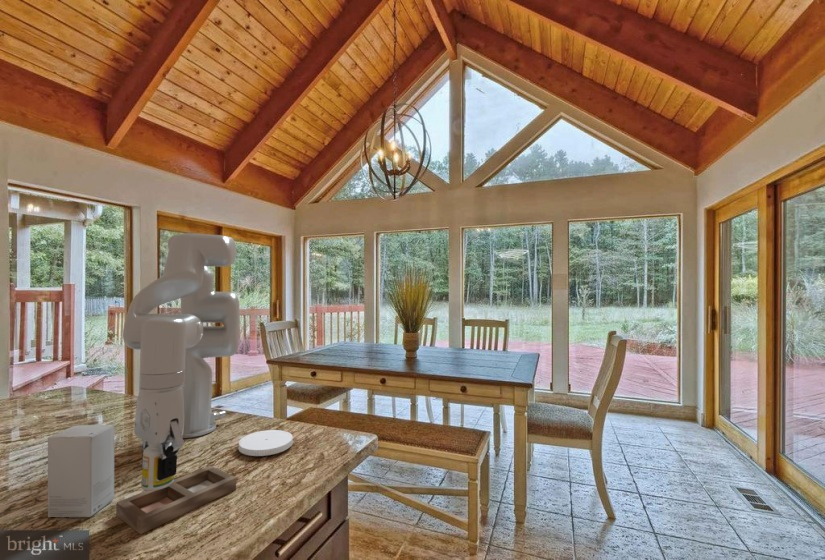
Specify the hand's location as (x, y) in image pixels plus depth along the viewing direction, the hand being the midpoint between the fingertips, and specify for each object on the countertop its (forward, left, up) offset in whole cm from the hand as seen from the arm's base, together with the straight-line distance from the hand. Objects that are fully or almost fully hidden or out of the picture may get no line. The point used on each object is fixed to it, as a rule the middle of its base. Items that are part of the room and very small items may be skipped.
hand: (158, 471), depth 75 cm
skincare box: (+8, -13, -8) cm, 17 cm away
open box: (-4, 0, -8) cm, 9 cm away
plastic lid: (-31, -8, -8) cm, 33 cm away
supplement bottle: (0, 0, -3) cm, 3 cm away
